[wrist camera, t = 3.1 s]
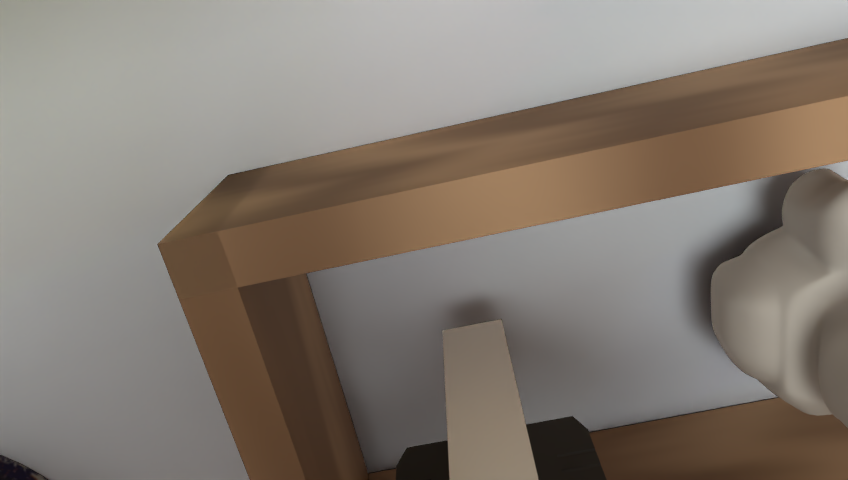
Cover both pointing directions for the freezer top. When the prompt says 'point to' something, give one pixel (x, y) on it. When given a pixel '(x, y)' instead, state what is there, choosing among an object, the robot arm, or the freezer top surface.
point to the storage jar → (16, 471)
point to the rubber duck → (793, 300)
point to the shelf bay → (485, 215)
